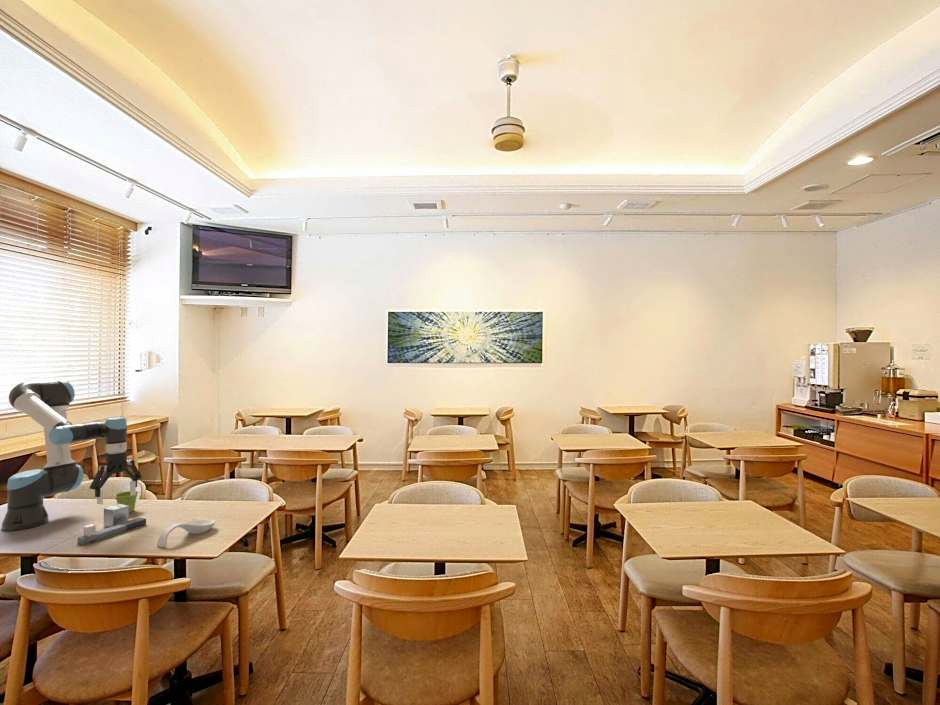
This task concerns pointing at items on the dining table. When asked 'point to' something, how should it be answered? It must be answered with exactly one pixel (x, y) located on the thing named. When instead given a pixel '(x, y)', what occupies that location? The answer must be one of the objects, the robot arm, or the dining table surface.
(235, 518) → the dining table surface
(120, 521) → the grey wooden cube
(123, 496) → the plant pot
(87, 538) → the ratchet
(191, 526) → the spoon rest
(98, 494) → the robot arm
